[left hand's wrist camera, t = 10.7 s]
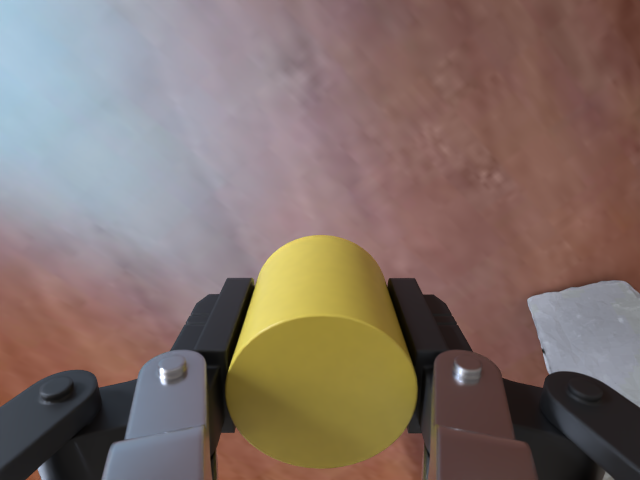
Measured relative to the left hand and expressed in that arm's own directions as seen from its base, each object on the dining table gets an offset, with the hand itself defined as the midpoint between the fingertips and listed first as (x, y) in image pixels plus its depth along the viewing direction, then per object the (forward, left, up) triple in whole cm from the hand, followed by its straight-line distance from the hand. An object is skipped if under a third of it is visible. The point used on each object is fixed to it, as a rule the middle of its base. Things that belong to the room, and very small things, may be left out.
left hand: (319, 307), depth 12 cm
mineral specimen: (-15, -8, -11) cm, 20 cm away
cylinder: (0, 0, 0) cm, 0 cm away
